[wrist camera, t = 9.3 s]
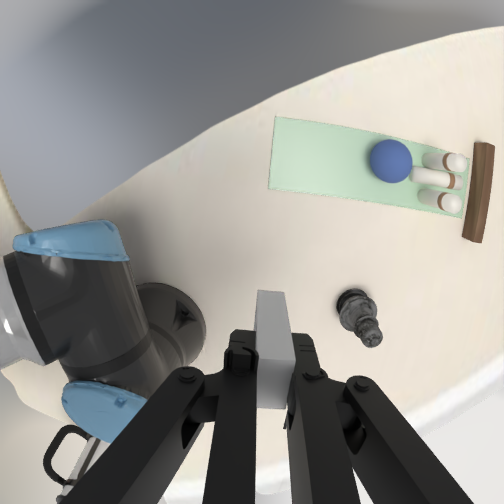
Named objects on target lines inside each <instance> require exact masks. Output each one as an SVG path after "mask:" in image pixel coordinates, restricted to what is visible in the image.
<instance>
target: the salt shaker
mask: <svg viewBox="0 0 504 504" xmlns="http://www.w3.org/2000/svg"><path fill="white" fill-rule="evenodd" d="M336 308H337V312H338V313H339V315H340V323H341V324H342V326H343V327H344V328H345V329H346V330H348V331H352V332H354V333H355V335H356V336H357V337H359V338H360V339H361V341H362V343H363V344H364V345H365V346H366V347H368V348H373V347H376V346H378V345H379V344H380V343H381V341H382V338H383V335H382V332H381V331H380V329H379V327H378V325H379V324H378V321H377V319H376V315H377V306H376V304H375V302H374V301H373V300H372V299H370V298H368V297H367V295H366V294H365V293H364V292H363V291H362V290H360V289H350V290H347V291H346V292H344V293H343V294H342V295H341V296H340V297H339V299H338V301H337V307H336Z"/></svg>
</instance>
